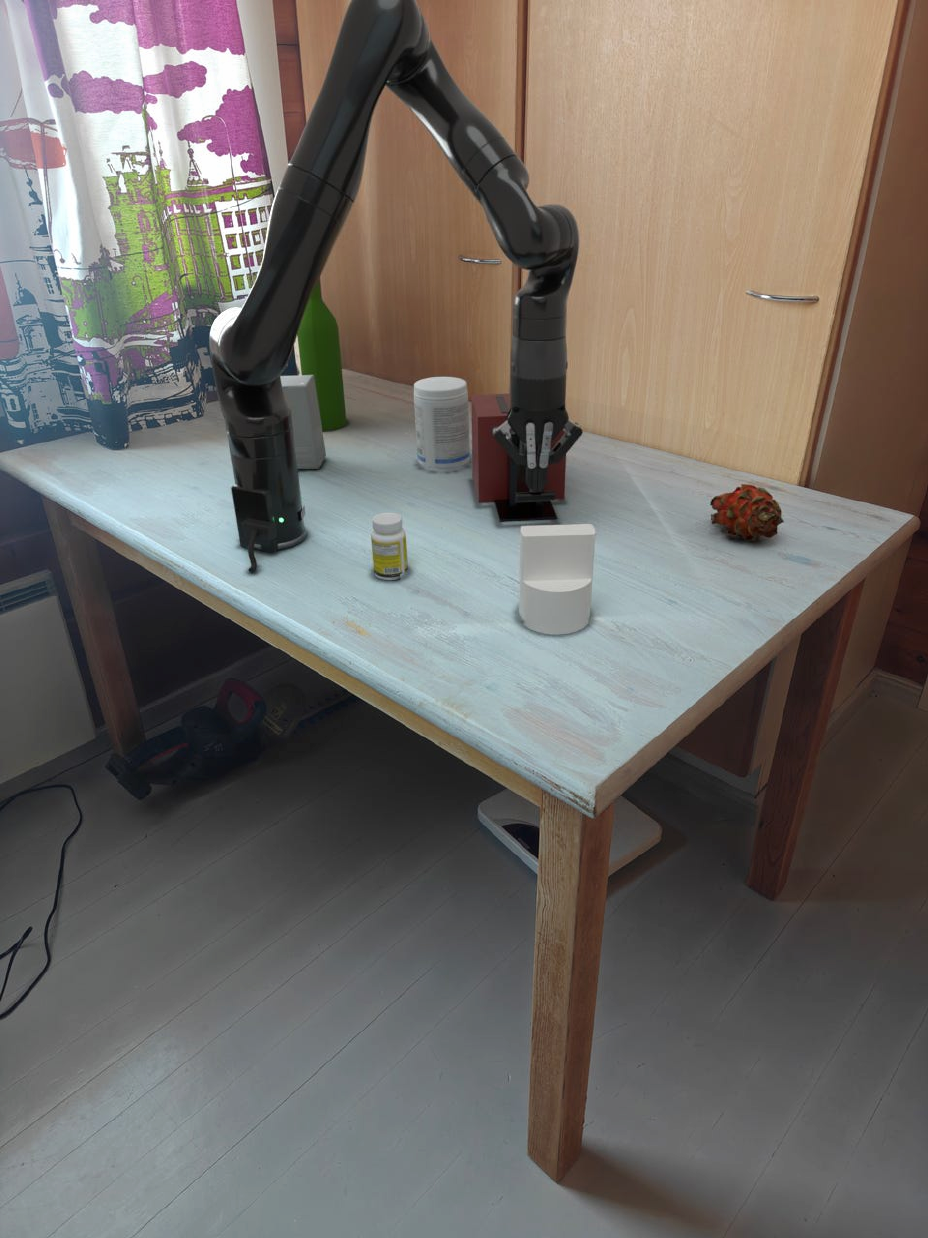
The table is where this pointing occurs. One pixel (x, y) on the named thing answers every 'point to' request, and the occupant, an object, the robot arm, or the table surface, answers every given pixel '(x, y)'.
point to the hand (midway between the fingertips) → (535, 490)
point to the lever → (529, 495)
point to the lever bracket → (520, 510)
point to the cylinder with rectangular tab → (556, 577)
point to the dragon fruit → (747, 512)
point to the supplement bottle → (389, 546)
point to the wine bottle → (322, 360)
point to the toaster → (502, 453)
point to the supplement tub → (442, 422)
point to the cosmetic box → (305, 420)
